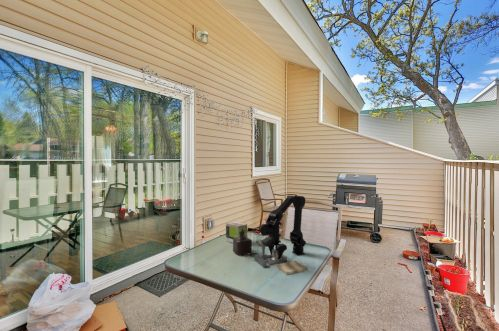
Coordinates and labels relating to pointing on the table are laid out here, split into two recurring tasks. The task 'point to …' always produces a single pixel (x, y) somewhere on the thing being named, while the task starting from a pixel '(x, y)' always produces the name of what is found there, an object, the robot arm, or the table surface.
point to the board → (291, 267)
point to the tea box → (234, 230)
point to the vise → (262, 259)
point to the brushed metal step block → (273, 258)
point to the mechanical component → (261, 246)
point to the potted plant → (242, 244)
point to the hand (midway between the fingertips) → (275, 257)
